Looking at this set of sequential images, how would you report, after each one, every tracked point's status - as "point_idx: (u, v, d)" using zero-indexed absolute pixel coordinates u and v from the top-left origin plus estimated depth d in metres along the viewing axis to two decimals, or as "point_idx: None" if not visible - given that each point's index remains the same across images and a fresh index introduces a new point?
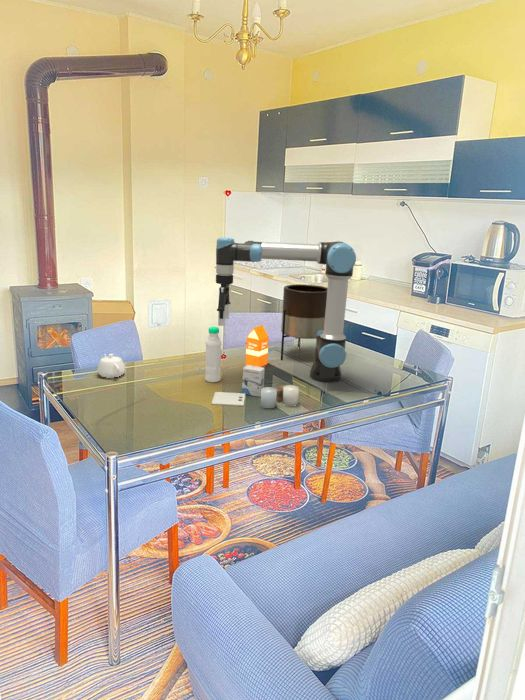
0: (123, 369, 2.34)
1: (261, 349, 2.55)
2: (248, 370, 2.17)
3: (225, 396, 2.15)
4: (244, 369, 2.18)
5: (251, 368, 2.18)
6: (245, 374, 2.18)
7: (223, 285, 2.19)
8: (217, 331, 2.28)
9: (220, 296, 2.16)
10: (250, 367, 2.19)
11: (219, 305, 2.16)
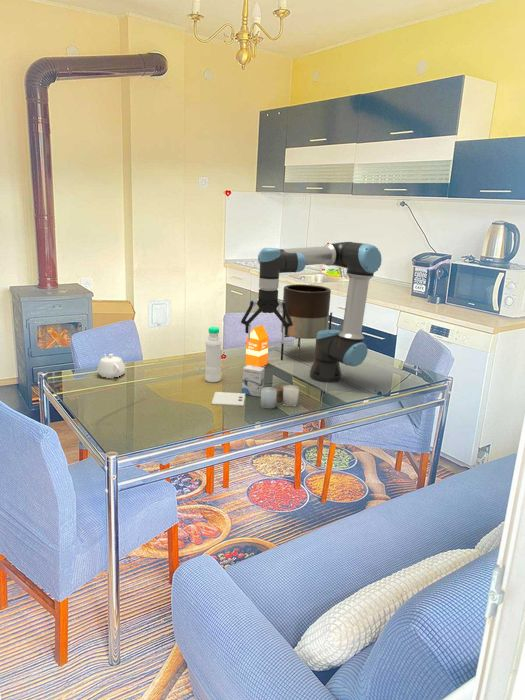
0: (123, 369, 2.34)
1: (261, 349, 2.55)
2: (248, 370, 2.17)
3: (225, 396, 2.15)
4: (244, 369, 2.18)
5: (251, 368, 2.18)
6: (245, 374, 2.18)
7: (258, 299, 1.99)
8: (217, 331, 2.28)
9: None
10: (250, 367, 2.19)
11: None
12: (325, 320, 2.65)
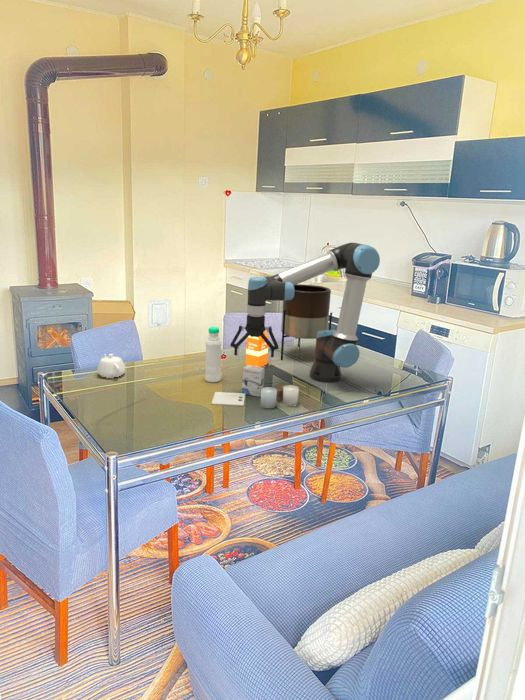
0: (123, 369, 2.34)
1: (261, 349, 2.55)
2: (248, 370, 2.17)
3: (225, 396, 2.15)
4: (244, 369, 2.18)
5: (251, 368, 2.18)
6: (245, 374, 2.18)
7: (246, 324, 2.13)
8: (217, 331, 2.28)
9: None
10: (250, 367, 2.19)
11: None
12: (325, 320, 2.65)
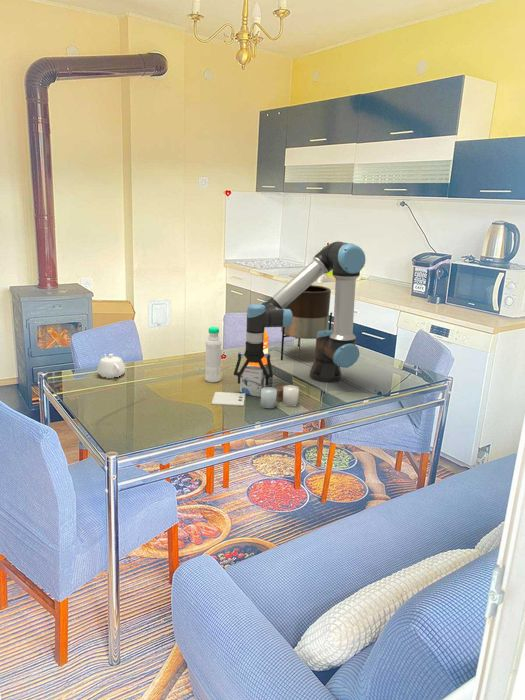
0: (123, 369, 2.34)
1: None
2: (248, 370, 2.17)
3: (225, 396, 2.15)
4: None
5: (251, 368, 2.18)
6: (245, 374, 2.18)
7: None
8: (217, 331, 2.28)
9: None
10: (250, 367, 2.19)
11: None
12: (325, 320, 2.65)
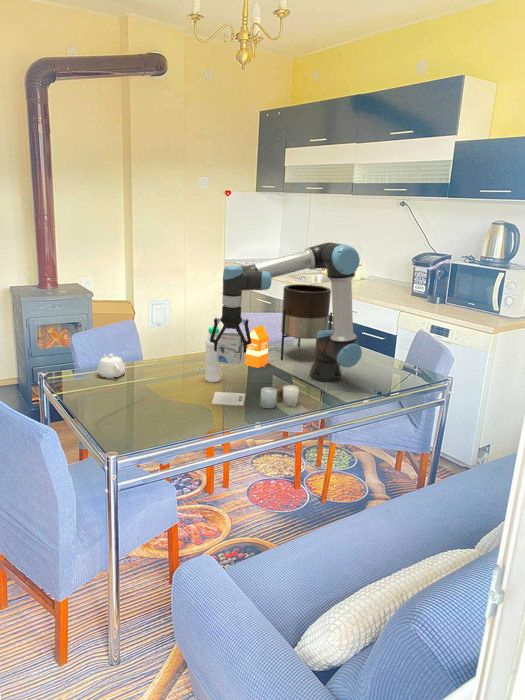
0: (123, 369, 2.34)
1: (261, 349, 2.55)
2: (225, 336, 2.05)
3: (225, 396, 2.15)
4: (221, 335, 2.05)
5: (228, 334, 2.06)
6: (222, 340, 2.06)
7: None
8: (217, 331, 2.28)
9: None
10: (227, 333, 2.07)
11: None
12: (325, 320, 2.65)
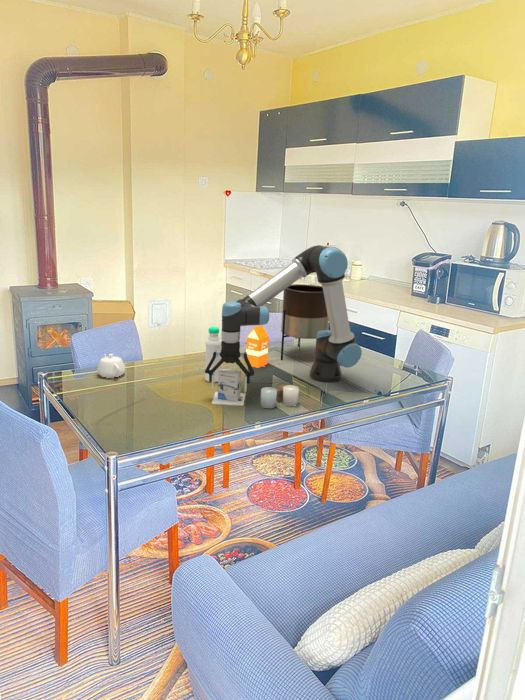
0: (123, 369, 2.34)
1: (261, 349, 2.55)
2: (224, 374, 2.09)
3: None
4: (219, 372, 2.09)
5: (227, 371, 2.10)
6: (221, 378, 2.10)
7: (221, 350, 2.08)
8: (217, 331, 2.28)
9: None
10: (225, 371, 2.11)
11: None
12: (325, 320, 2.65)
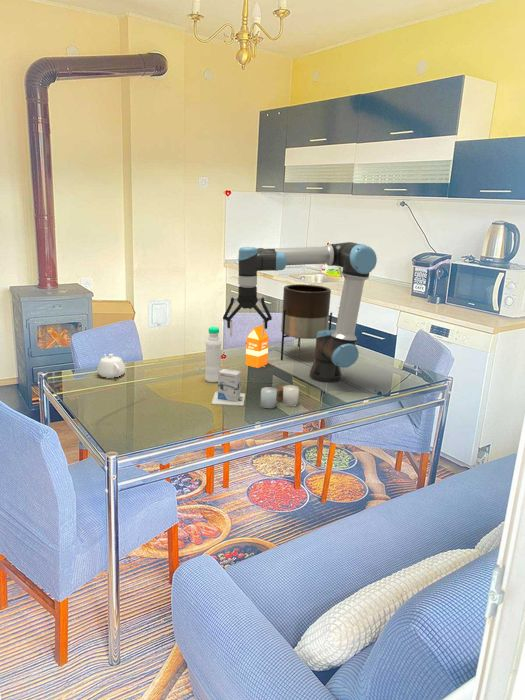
0: (123, 369, 2.34)
1: (261, 349, 2.55)
2: (224, 374, 2.09)
3: None
4: (219, 372, 2.09)
5: (227, 371, 2.10)
6: (221, 378, 2.10)
7: (238, 296, 2.10)
8: (217, 331, 2.28)
9: None
10: (225, 371, 2.11)
11: None
12: (325, 320, 2.65)
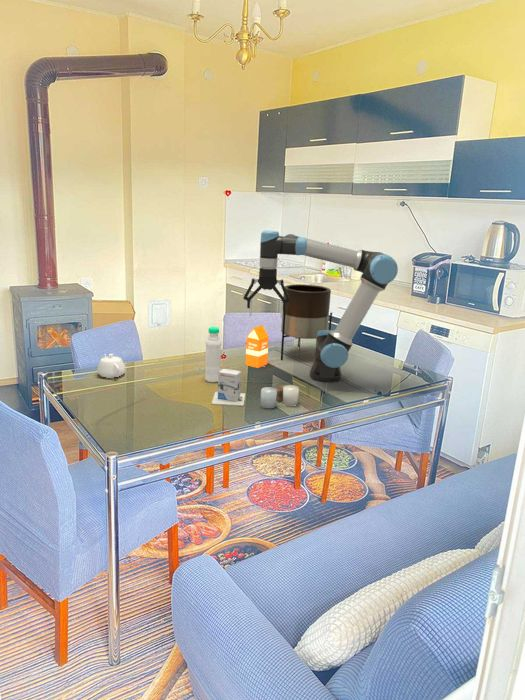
0: (123, 369, 2.34)
1: (261, 349, 2.55)
2: (224, 374, 2.09)
3: None
4: (219, 372, 2.09)
5: (227, 371, 2.10)
6: (221, 378, 2.10)
7: (259, 277, 2.20)
8: (217, 331, 2.28)
9: (249, 286, 2.22)
10: (225, 371, 2.11)
11: (245, 294, 2.23)
12: (325, 320, 2.65)
